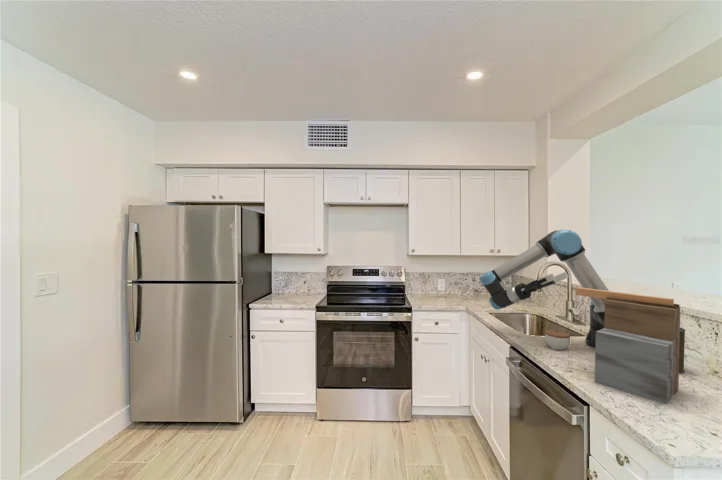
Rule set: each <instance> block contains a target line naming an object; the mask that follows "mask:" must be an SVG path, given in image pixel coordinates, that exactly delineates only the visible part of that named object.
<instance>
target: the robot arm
mask: <svg viewBox="0 0 722 480" xmlns="http://www.w3.org/2000/svg"><path fill="white" fill-rule="evenodd" d="M585 253H586V248H585V247H584V245H583V240H582V239H581V237H580V235H579V234H578V233H577V232H575V231H573V230H571V229H559V230H558V229H557V230H553V231H550V232H549V233H548V234H547V235H545V236H544V237H542V238H541V239H539V240H538V241H536V242H535V245H533V246H530V248H527V250H525V251H523V252H521V253H519V254H518V255H515V257H513V258H511V259H510V260H508V261H506V262H504V263H502V264H501V265H499V266H497V267H495V268H493V270H490V271H489V270H488V271H486V272H484V273H483V274H481V275H479V277H478V278H479V281H480V283H481V285H483V287H484V288H485V290H486V291H487V292H488V294H489V295H490V297H489V303H490V306H491V307H492V308H493V309H494V310H497V311H498V310H501V309H505V308H507V307H510V306H512V305H514V304H520V302H521V301H524V300H527V299H529V298H531V297H532V293H534V292H535V293H536V292H537V291H539V290H541V289H543V288H546V287H549V286H552V285H554V284H557V283H558V282H561V281H563V280H565V279H569V274H568V273H567V271H564V272H562V273H560V274H557V275H554V273H550V274H547V275H545V276H543V277H540V278H538V279H536V280H532V281H530V282H529V283H527V284H526V283H524V282H521V283H519V284H516V285H513V286H511V287H510V288H507V289H505V288H504V287H503V285H502V284H501V282H503V281H505V280H506V279H508V278H510V277H512V276H513V275H515V274H517V273H519V272H521V271H523V270H525V269H526V268H528V267H530V266H531V265H533V264H535V263H537V262H538V261H540V260H542V259H544V258H549V257H552V256H553V255H556V256H557V258H558V259H559V261H560V262H561V263H565V264H566V265H567V267H568V268H569V269H570V270H569V271H571V272H572V275H573V276H574V277H575V279H576V281H577V282H578V283H579V285H580V286H581V288H589V289H597V290H605V291H610V290H609V288H608V286H606V284H605V283H604V281H603V280H602V279H601V277H600V275H599V274H598V272H597V271H596V269H595V268H594V266H593V265H592V264H591V262H590V260H588V258H587V257H586V255H585ZM588 298H589V300H590V305H589V330H588V332H587V335H586V337H585V339H584V340H585V341H584V342H585V345H586V346H590V347H592V348H595V347H596V331H598V330H601V329H603V328H604V319H605V300H606V299H602V298H595V297H588Z"/></svg>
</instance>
